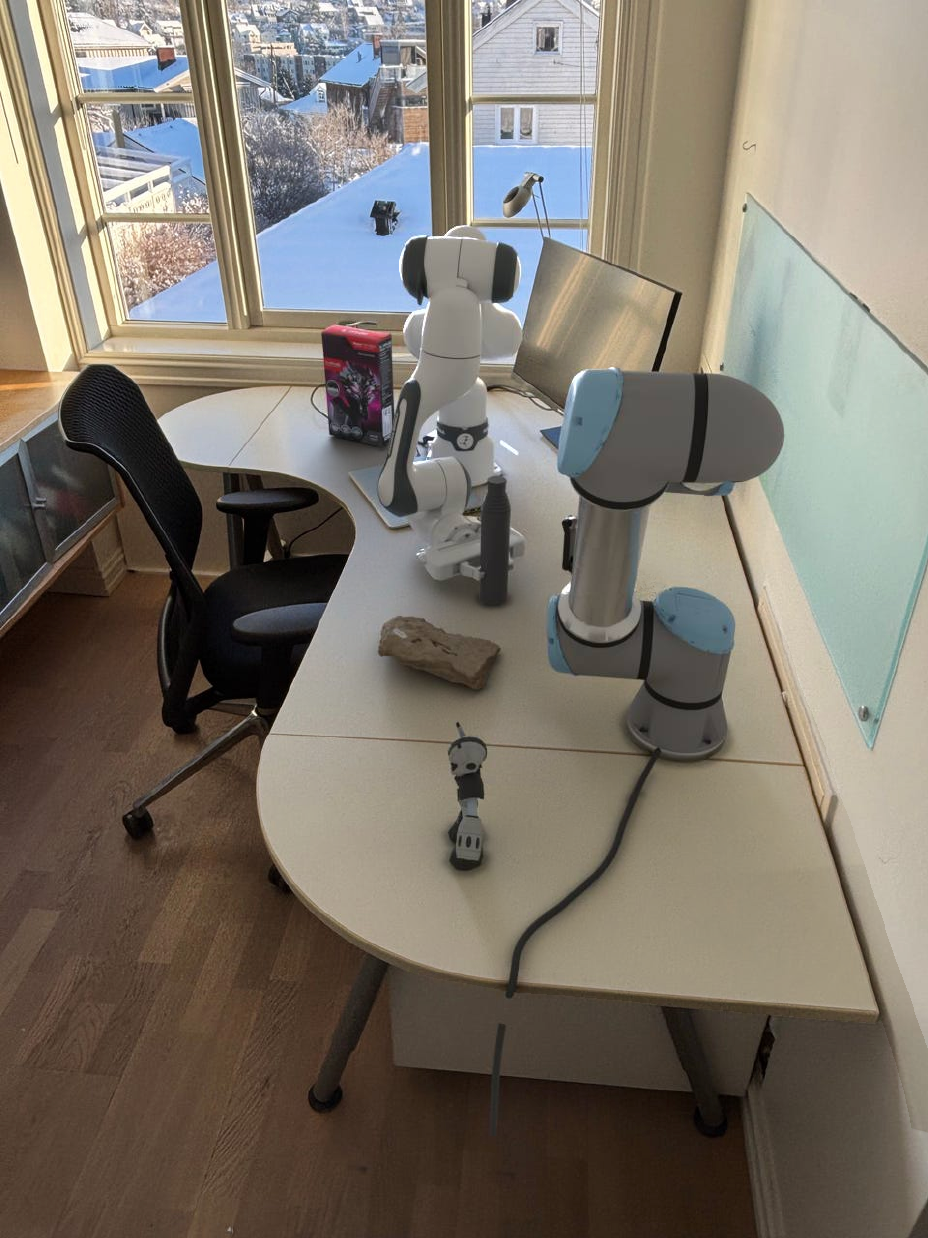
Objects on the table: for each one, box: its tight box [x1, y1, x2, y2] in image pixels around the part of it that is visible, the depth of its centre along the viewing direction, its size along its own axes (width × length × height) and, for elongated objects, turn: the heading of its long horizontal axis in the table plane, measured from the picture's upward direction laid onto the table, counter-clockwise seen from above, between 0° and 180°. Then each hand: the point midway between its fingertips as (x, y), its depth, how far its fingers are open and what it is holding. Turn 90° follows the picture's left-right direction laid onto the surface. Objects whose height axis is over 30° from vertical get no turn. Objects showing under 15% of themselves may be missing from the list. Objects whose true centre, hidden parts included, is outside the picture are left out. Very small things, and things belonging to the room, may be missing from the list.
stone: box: [377, 615, 502, 691], centre depth 155 cm, size 21×15×6 cm
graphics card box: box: [320, 324, 395, 448], centre depth 230 cm, size 17×7×27 cm, turn 62°
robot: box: [447, 721, 488, 871], centre depth 117 cm, size 20×5×20 cm, turn 3°
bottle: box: [479, 475, 512, 608], centre depth 167 cm, size 5×5×25 cm
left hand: (497, 571), depth 170 cm, fingers closed on bottle, 5 cm apart
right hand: (591, 609), depth 166 cm, fingers closed on cap, 4 cm apart
